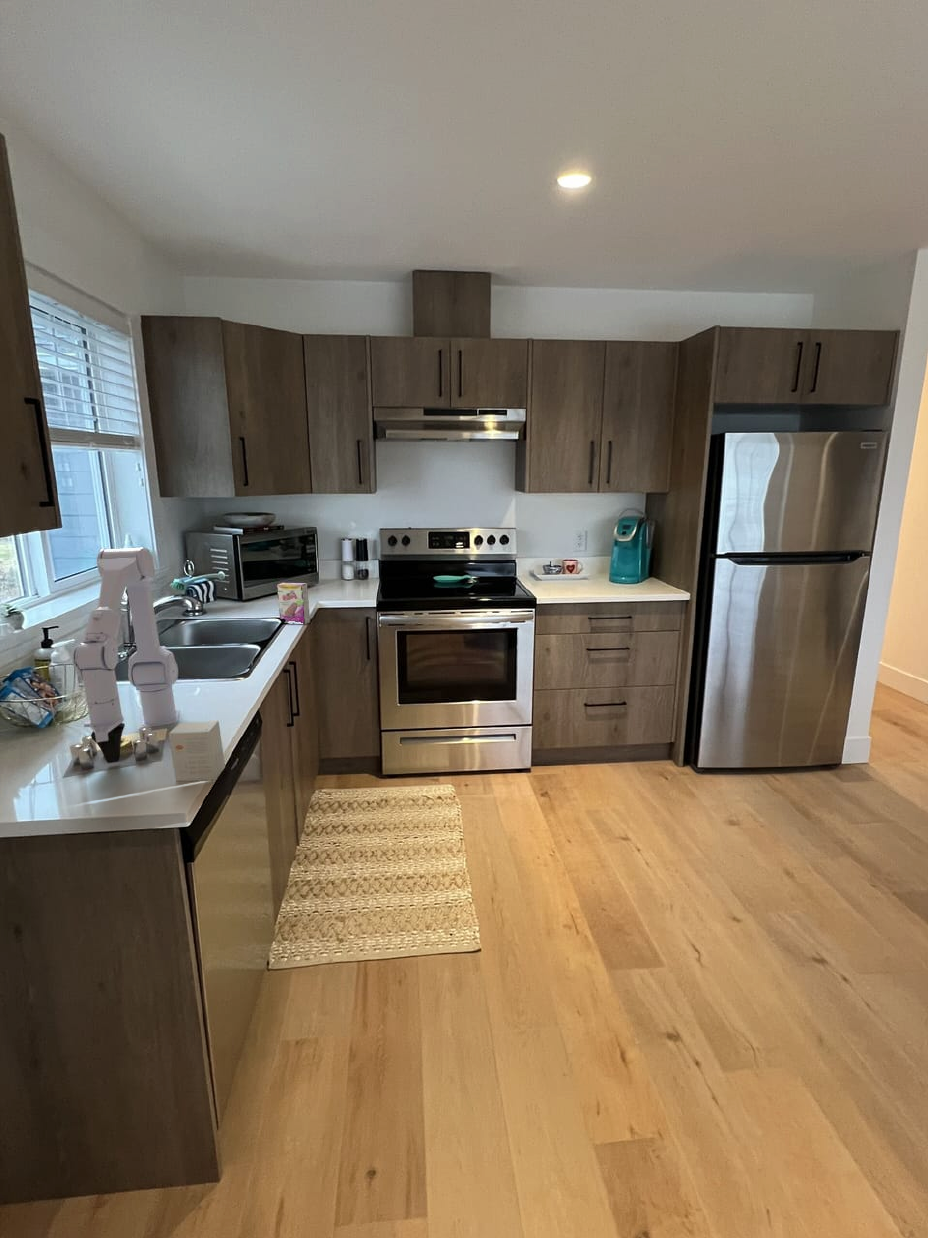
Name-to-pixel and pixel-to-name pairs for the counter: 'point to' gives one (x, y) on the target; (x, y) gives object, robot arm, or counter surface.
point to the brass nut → (125, 747)
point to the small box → (197, 751)
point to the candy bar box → (294, 602)
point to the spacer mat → (123, 761)
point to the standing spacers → (88, 749)
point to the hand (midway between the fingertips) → (113, 761)
